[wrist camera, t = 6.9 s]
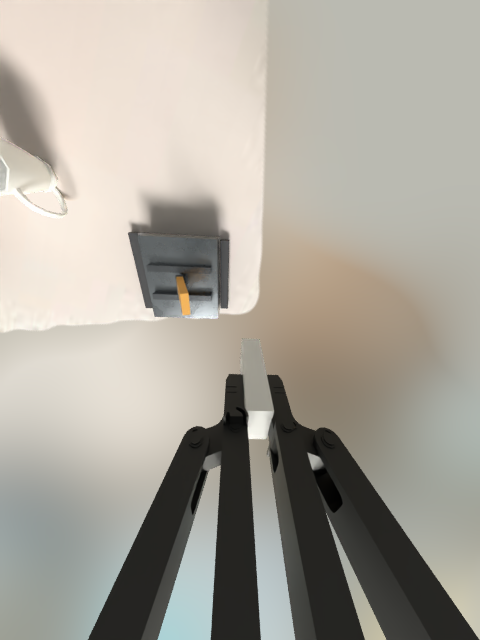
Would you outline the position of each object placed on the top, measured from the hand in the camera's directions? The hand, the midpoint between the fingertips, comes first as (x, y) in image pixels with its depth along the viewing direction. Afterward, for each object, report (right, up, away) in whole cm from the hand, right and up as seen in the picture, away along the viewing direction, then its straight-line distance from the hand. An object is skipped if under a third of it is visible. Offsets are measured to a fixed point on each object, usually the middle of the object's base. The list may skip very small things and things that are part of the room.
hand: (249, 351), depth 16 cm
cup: (-30, +24, +12) cm, 40 cm away
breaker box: (-11, +12, +19) cm, 25 cm away
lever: (-11, +9, +13) cm, 19 cm away
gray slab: (-19, +12, +19) cm, 29 cm away
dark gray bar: (-4, +12, +19) cm, 23 cm away
